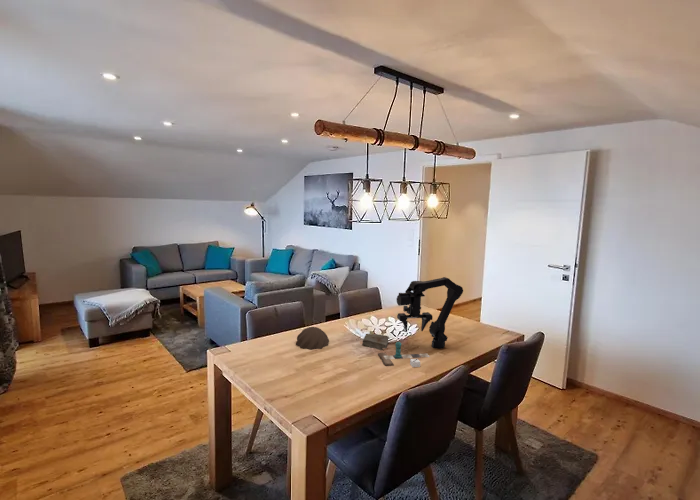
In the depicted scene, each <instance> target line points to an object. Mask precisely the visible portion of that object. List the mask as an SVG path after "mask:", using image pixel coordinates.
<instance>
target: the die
mask: <svg viewBox="0 0 700 500" xmlns="http://www.w3.org/2000/svg"><path fill="white" fill-rule="evenodd" d="M409 359H410V360H409V365H410V366H411V367H412V368H420V367H421V360H419V358H409Z"/></svg>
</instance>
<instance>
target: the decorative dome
mask: <svg viewBox="0 0 700 500" xmlns="http://www.w3.org/2000/svg"><path fill="white" fill-rule="evenodd" d="M296 340H297V341H296V343H295V346H298V347H299V348H300V349H306V350H309V351H311V350H313V351H314V350H322V349H324V348H326V347H328V346H329V343H330V340H329V337H328V335H327V334H326V332H325V331H324V330H322V329H321V328H319V327H315V326H308V327H305V328H304V329H303V330H302V331H301V332H299V334H298V335H297V336H296Z"/></svg>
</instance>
